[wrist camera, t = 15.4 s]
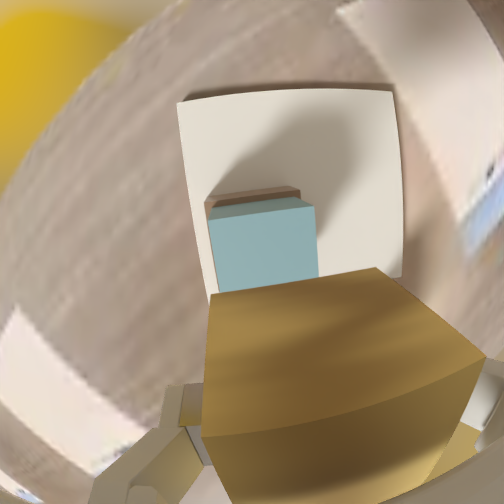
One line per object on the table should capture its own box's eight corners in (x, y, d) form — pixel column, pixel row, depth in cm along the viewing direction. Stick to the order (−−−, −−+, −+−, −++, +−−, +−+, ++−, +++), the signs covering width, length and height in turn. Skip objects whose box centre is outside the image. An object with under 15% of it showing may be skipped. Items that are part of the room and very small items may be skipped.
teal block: (294, 196, 21) (314, 205, 16) (301, 273, 23) (319, 301, 18) (211, 207, 21) (207, 220, 16) (224, 285, 23) (224, 316, 18)
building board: (386, 93, 24) (414, 83, 19) (396, 272, 30) (421, 291, 25) (178, 105, 23) (167, 92, 18) (210, 304, 29) (208, 332, 24)
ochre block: (375, 266, 9) (486, 356, 4) (366, 386, 10) (422, 484, 5) (210, 293, 8) (200, 437, 4) (237, 413, 10) (248, 532, 5)
